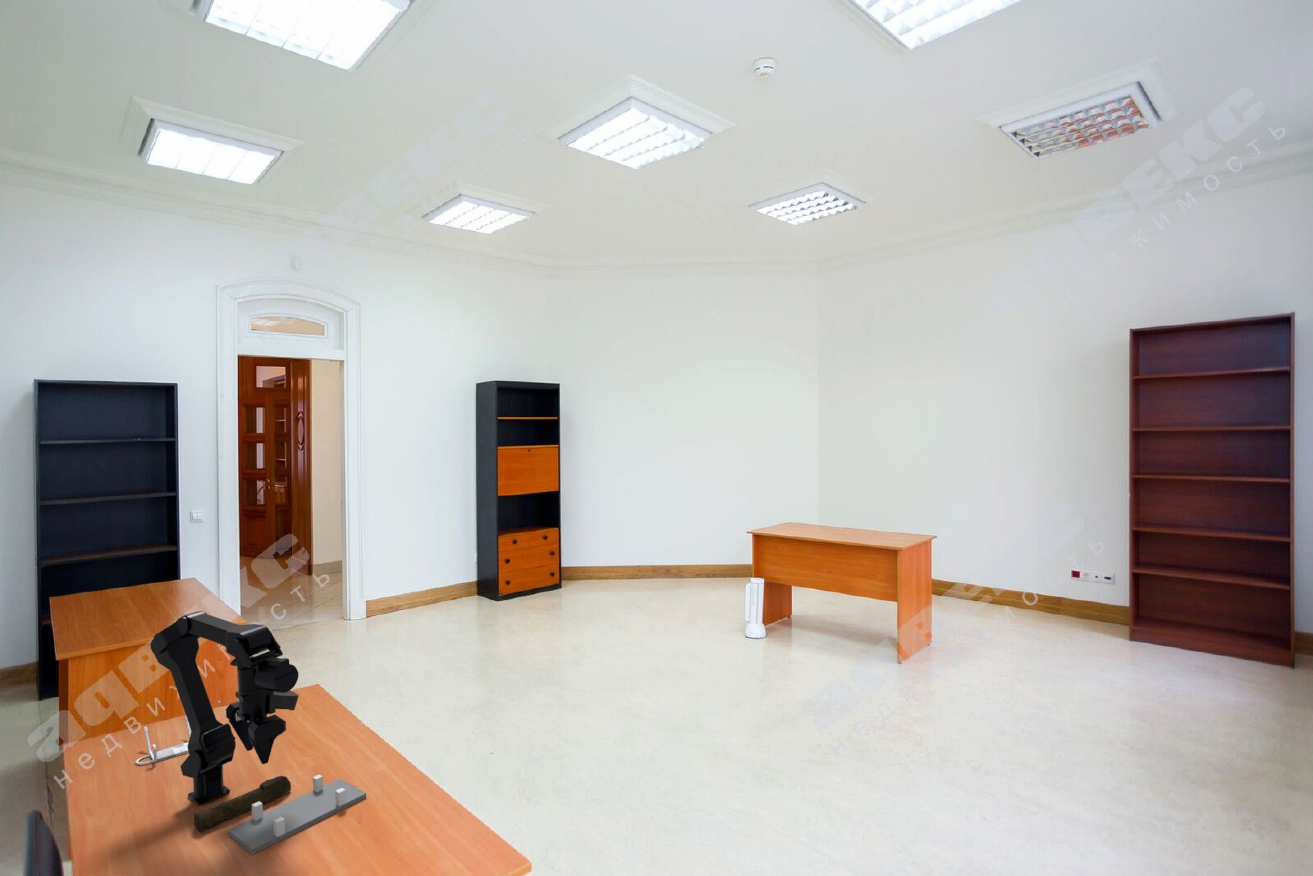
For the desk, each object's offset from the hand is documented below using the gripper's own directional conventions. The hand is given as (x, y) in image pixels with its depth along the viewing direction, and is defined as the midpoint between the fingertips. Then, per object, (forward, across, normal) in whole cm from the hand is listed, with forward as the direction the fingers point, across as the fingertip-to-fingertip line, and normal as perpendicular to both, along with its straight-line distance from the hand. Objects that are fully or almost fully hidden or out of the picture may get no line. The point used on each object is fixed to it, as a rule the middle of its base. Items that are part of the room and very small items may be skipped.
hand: (257, 756), depth 150 cm
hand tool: (+12, +3, +2) cm, 13 cm away
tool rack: (+12, -9, -5) cm, 16 cm away
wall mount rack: (+12, +46, +5) cm, 48 cm away
